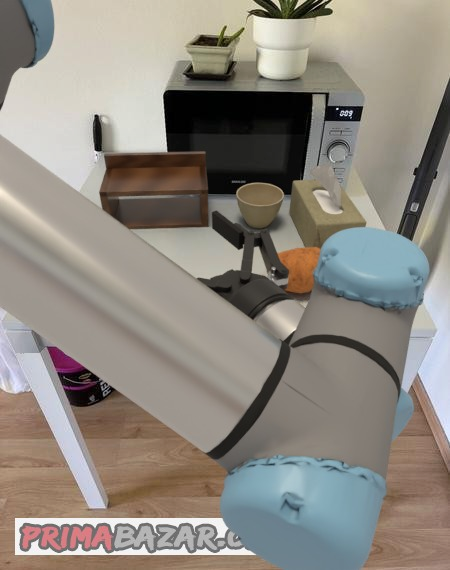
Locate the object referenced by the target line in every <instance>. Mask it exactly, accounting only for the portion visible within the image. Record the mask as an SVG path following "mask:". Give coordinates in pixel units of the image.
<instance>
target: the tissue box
mask: <svg viewBox="0 0 450 570" xmlns="http://www.w3.org/2000/svg"><path fill="white" fill-rule="evenodd" d="M308 172H309V173H310V175H311V176H312V177H313V179H301V180H293V181H292V185H291V193H290V203H289V211H288V213H289V215H290V217H291V219H292V221H293V224H294V225H295V227H296V230H297V232H298V234H299V236H300V238H301V240H302V242H303V245H304V247H317V248H319V249H321V248H322V245H323V244H324V242H325V241H326V240H327V239H328V238H329V237H330V236H332V235H333V234H335V233H337V232H339V231H342V230H345V229H349V228H356V227H367V220H366V218H365V217H364V216H363V215H362V213H360V211H359V209H358V208H357V206H356V205H355V204H354V202H353V200H351V198H350V197H349V195H348V194H347V192H346V191H345V189H344V188H343V186H341V184H340V182H339V180H338V178H337V176H336V175H335V171H334V168H333V167H332V164H331V163H330V162H326V163H325V164H322V165H321V166H320V165H317V166H315V167H314V168H312V169H308Z"/></svg>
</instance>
